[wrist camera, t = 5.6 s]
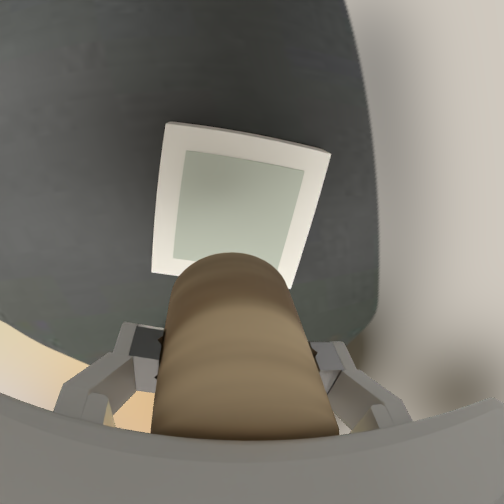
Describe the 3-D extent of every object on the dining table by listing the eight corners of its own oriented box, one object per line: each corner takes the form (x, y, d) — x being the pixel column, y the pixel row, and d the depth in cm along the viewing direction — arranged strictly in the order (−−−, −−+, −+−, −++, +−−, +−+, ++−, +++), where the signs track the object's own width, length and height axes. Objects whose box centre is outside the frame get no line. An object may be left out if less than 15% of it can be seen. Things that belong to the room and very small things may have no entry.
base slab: (170, 121, 24) (165, 123, 22) (321, 149, 27) (331, 154, 24) (155, 259, 31) (151, 273, 28) (285, 275, 33) (291, 289, 31)
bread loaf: (175, 243, 12) (143, 395, 5) (303, 261, 12) (371, 399, 6) (167, 341, 14) (154, 477, 8) (273, 351, 15) (302, 478, 9)
